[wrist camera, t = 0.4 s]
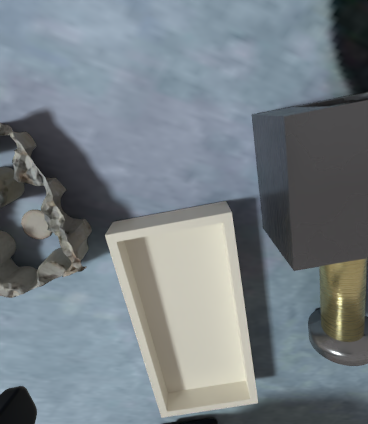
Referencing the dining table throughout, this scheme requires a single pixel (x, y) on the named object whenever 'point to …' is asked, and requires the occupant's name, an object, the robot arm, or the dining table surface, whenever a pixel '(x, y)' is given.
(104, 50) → the dining table surface
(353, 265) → the pin
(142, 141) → the dining table surface
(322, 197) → the block
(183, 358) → the tray
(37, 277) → the egg carton
